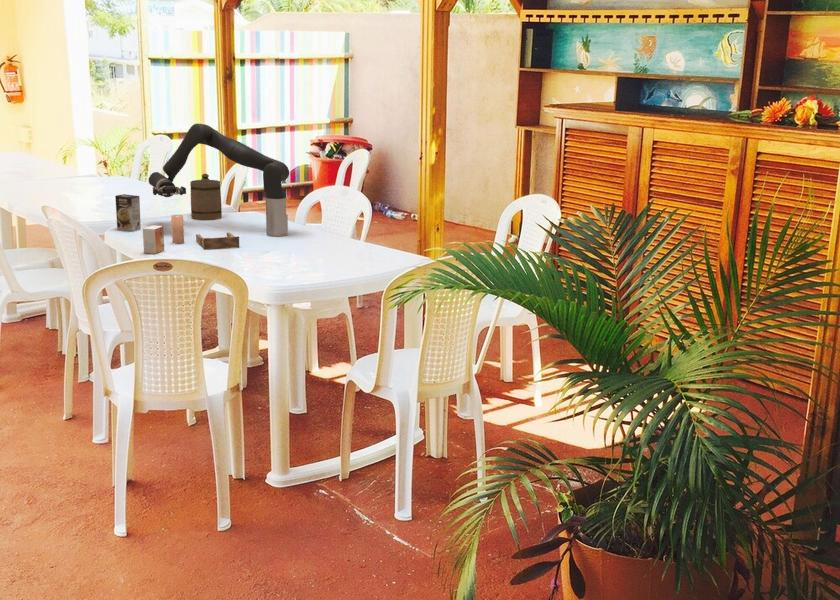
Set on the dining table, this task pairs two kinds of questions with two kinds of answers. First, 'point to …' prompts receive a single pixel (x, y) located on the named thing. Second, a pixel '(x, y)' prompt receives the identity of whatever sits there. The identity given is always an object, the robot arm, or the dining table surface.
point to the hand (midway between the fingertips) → (171, 193)
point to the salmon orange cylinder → (177, 229)
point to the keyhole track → (218, 242)
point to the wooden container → (205, 199)
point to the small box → (153, 239)
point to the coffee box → (128, 212)
